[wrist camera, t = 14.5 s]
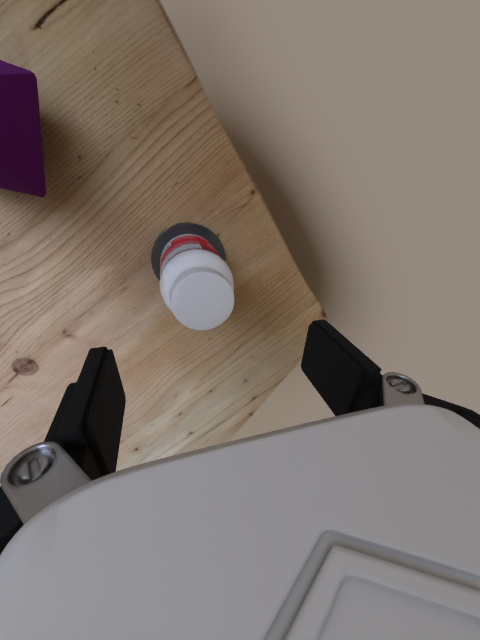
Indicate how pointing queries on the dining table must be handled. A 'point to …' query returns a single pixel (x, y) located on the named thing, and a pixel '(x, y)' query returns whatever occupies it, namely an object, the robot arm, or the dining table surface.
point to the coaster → (180, 230)
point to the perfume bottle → (20, 132)
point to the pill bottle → (196, 282)
